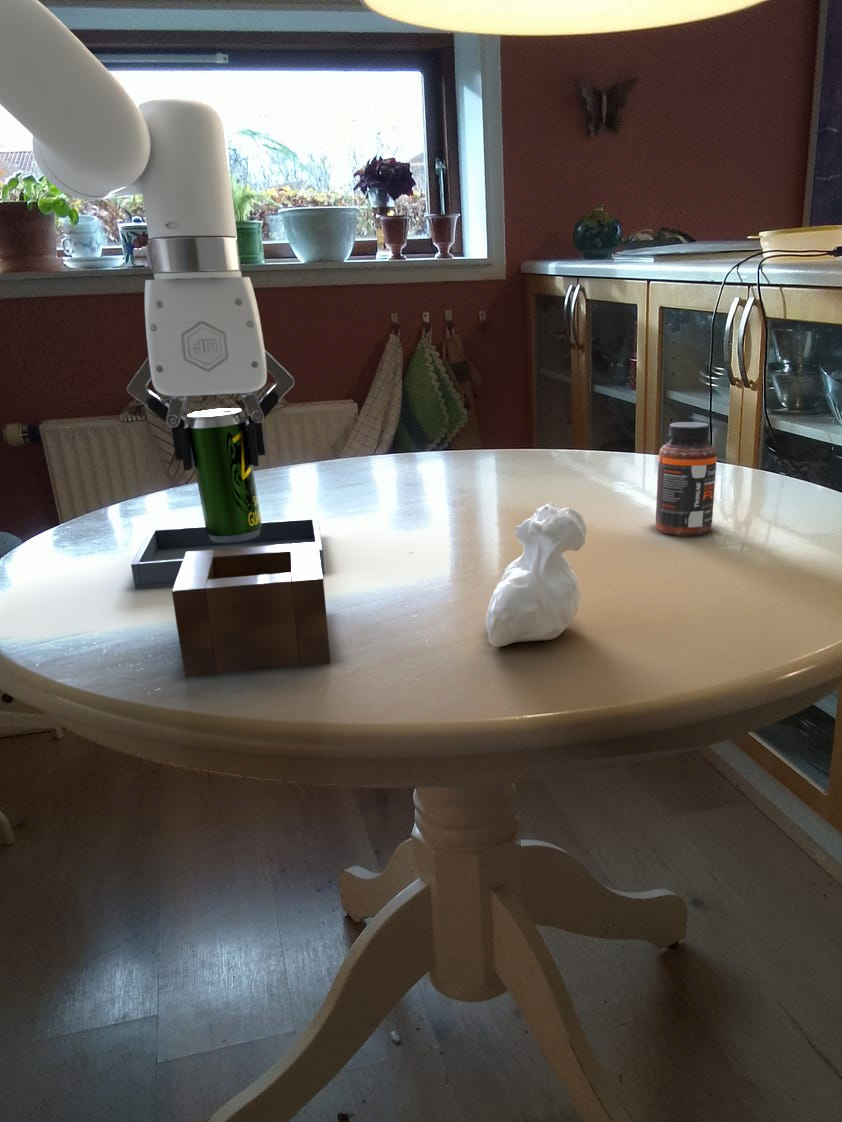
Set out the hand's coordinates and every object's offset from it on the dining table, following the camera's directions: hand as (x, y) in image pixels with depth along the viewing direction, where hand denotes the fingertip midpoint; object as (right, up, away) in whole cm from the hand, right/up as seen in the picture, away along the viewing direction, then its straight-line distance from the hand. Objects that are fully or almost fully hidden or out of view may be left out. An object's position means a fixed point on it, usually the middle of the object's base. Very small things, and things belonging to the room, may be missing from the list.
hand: (222, 463), depth 88 cm
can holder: (+8, -17, -18) cm, 26 cm away
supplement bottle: (+47, -5, +11) cm, 48 cm away
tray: (0, -9, +4) cm, 10 cm away
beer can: (+1, -7, +3) cm, 7 cm away
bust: (+29, -17, -17) cm, 38 cm away
